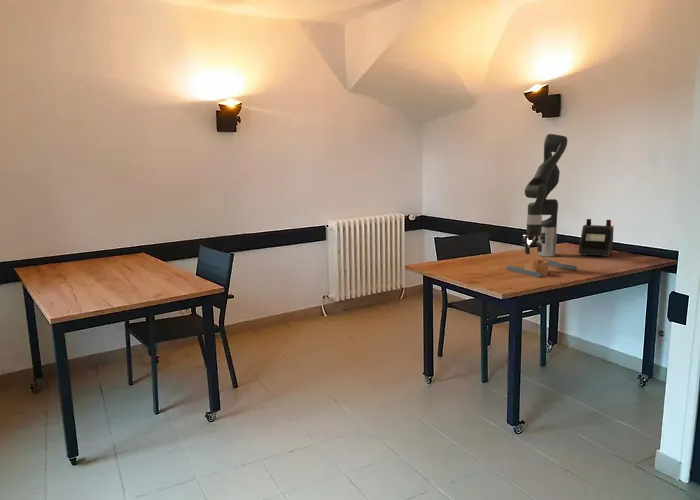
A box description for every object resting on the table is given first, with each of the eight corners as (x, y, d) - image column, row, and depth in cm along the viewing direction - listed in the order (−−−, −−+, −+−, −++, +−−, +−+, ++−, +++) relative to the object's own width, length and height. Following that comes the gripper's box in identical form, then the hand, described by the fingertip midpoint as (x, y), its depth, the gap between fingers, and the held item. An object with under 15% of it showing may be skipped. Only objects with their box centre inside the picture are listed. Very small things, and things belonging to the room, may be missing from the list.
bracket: (549, 276, 277) (550, 262, 276) (533, 276, 277) (533, 263, 276) (537, 268, 295) (538, 255, 294) (522, 269, 295) (522, 256, 294)
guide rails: (506, 269, 293) (507, 264, 293) (543, 263, 306) (543, 258, 305) (538, 277, 274) (539, 272, 273) (576, 270, 286) (576, 265, 286)
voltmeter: (578, 256, 322) (579, 222, 319) (583, 251, 336) (584, 218, 333) (608, 258, 314) (610, 223, 310) (612, 253, 328) (613, 219, 324)
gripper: (538, 220, 296) (537, 250, 300) (518, 223, 290) (518, 253, 293) (549, 222, 290) (548, 252, 293) (529, 225, 283) (528, 255, 287)
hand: (533, 252), depth 293 cm, fingers open, 8 cm apart
